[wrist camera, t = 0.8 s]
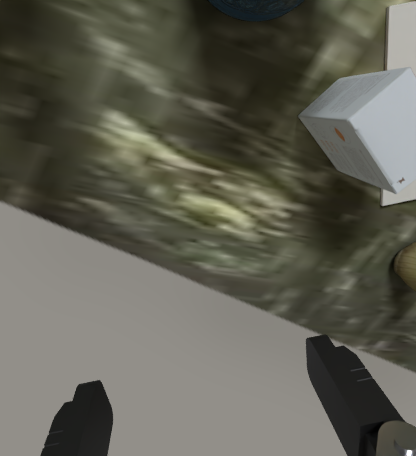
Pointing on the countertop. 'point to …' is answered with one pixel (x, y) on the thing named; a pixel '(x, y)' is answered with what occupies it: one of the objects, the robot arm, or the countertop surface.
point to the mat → (400, 58)
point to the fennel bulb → (406, 265)
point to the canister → (255, 8)
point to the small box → (369, 127)
